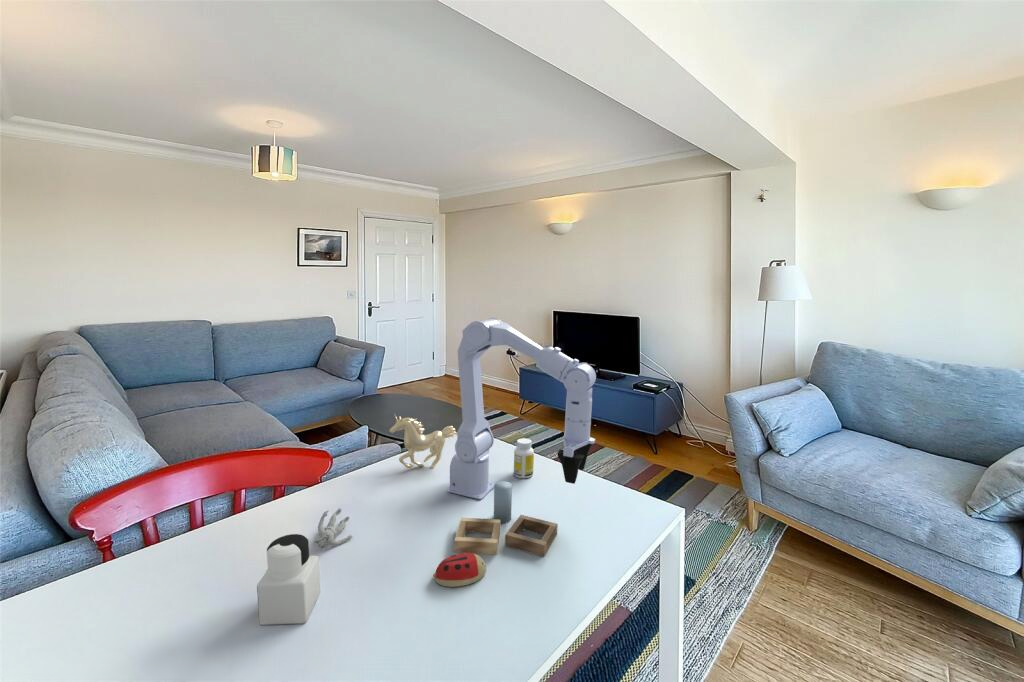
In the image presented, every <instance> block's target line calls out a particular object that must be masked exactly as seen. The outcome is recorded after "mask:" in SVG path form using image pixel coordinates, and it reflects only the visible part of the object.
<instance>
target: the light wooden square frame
mask: <svg viewBox="0 0 1024 682" xmlns="http://www.w3.org/2000/svg"><path fill="white" fill-rule="evenodd" d="M467 533H482V534H483V533H484V534H485V533H487V534H491V538H485V537H484V538H483V537H469V536H468V537H467V536H466V534H467ZM500 534H501V523H500V520H499V519H494V518H481V517H480V518H478V517H477V518H476V517H460V521H459V524H458V528H457V532H456V535H455V538H454V549H453V550H454V551H453V552H454V553H473V554H482V555H483V554H484V555H485V554H486V555H498V548H499V542H500Z"/></svg>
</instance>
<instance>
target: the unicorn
mask: <svg viewBox="0 0 1024 682" xmlns="http://www.w3.org/2000/svg"><path fill="white" fill-rule="evenodd" d="M393 415H394V417H395V420H396V422H395V424H394V425H392V427H390V429H389V432H390V433H391V434H394V433H395V432H397V431H402V430H403V432H404V435H403V436H404V439H403V443H404V448H406V449H407V450H408V451H407V452H406V453H405V454H402V455H401V456H399V458H398V461H399V463H401V464H402V465H403V466H404V467H405V468H406V469H412V468H414V467H415V466H414V465H416V466H417V467H424V466H425V465H424V463H425V462H427V461H428V460H430V459H431V458H433V457H435V459H434V461H432V463H431V465H430V469H434V468H436V467H435V466H436V465H437V464H438V463H439V462H440V460H441V458H442V452H443V449H444V447H445V444H446V439H449V438H452V437H453V438H454V437H455V436H454V435H456V436H457V432H458V431H456V428H455V427H454V426H453V425H448V426H445V427H443V429H441V431H440V430H434V431H433V432H431V433H429V434H423V433H424V432H425V430H426V429H425V428H423V427H424V425H423V424H422V421H417V419H418V418H417V417H416V418H411V417H409V416H408V417H401V416H399V418H397V415H396V413H393ZM426 450H429V452H430V454H428V455H427V456H426V457H425V458H424V460H423V463H422V462H418V461H415V453H420V452H424V451H426ZM407 458H409V459H410V462H411V463H412V464H411V463H406V461H404V460H405V459H407Z"/></svg>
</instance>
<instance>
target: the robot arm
mask: <svg viewBox="0 0 1024 682" xmlns="http://www.w3.org/2000/svg"><path fill="white" fill-rule="evenodd" d="M497 346H498V347H499V346H508V347H509V348H511V349H513V350H515V351H516V352H519V353H521V354H523V355H524V356H526V357H529V358H530V359H533V360H534V361H535V363H536V366H537V368H538V369H539V370H541V371H542V372H543V373H546V374H547V375H549V376H551V377H552V378H554V379H556V380H557V381H559V382H560V383H563V386H564V388H565V390H566V397H565V400H566V401H565V416H564V418H565V419H564V432H563V433H564V435H563V438H562V439H563V449H559V450H558V451H557V458H558V460H559V461H560V463H561V467H562V471H563V478H564V480H565V483H569V484H573V485H575V484H576V481H577V477H578V473H579V470H580V471H584V469H585V467H586V463H587V459H588V455H589V452H590V449H591V447H592V446H593V444H595V442H596V438H594V437H591V425H592V412H593V411H592V407H593V387H592V386H594V384H595V383H596V379H597V374H596V370H595V369H594V368H593V367H592V366H591V365H590V364H589V363H588V362H580V360H579V359H577V358H574V359H573V358H571V357H570V356H568V355H567V354H565V353H564V352H561V351H562V348H560V347H558V346H555V347H553V346H547V347H545V348H544V347H542V346H541V345H539V344H538V343H536V342H534V340H532V339H530V338H528V337H527V336H526V335H524V334H522V333H521V332H520V331H518V330H517V329H515V328H513V327H512V326H511V325H510V324H509V323H507V322H504V321H501V320H500V319H499V318H496V317H491V318H488V319H484V320H478V321H477V320H476V321H475V320H474V321H472V322H470V323H468V325H467V326H466V327H465V328H463V330H462V338H461V341H460V343H459V346H458V349H457V363H458V364H457V365H458V375H459V377H458V378H459V391H460V402H461V414H462V415H461V418H462V422H461V424H460V426H459V427H458V430H457V431H456V432H457V435H456V437H457V438H456V442H455V444H454V451H455V454H454V455H453V457H452V458H451V460H450V465H449V488H448V489H447V491H448V493H451V494H456V495H459V496H463V497H468V498H473V499H476V500H482V499H483V498H485V496H486V495H488V493H489V492H490V491H491V490H493V488H494V485H495V483H494V484H493V483H489V469H490V468H489V465H490V463H489V462H490V449H491V448H492V447H493V446H494V441H495V438H494V435H493V432H492V430H491V427H490V422H489V421H488V420H487V419H486V418H485V407H484V395H483V380H482V379H483V378H482V365H481V357H482V356H483V355H484V354H485V353H486V352H487V351H488V350H489V349H490V348H492V347H497Z"/></svg>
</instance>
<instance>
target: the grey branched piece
mask: <svg viewBox="0 0 1024 682" xmlns="http://www.w3.org/2000/svg"><path fill="white" fill-rule="evenodd" d="M329 512H330V511H329V510H326V511H324V512H323V514H322V516H321V517H320V519H319V522H318V525H317V532H318V533H317V534H318V537H319V539H317V540H314V541H313V542H314V543H315V544H316V545H318V547H320V548H321V551H323V550H324V549H325V547H326V545H328V546H334V547H335V546H336V547H338V546H341V545H342V544H344V543H347V541H350V540H351V539H352V538H353V537H354V536H353V534H349V535H348V536H347V537H345V538H342V539H340V540H339V539H338V540H336V537H337V536H338V535H339V534H340V533H342V531H343V530H344V529H345V528H346V524H345V523H346V522H348V521H349V519H350V517H349V516H346V517H345V518H343V519H342V520H340V523H339V525H338V526H337V527H335V523H336V522H337V516H338V515H339V514H340V513H341V512H342V508H338V509H337V510H336V511H335V512H334V513H333V514H332V516H331V517H330V518H329V522H328V523H327V525H326V527H324V526H323V525H324V523H325V517H327V516H328V513H329ZM337 545H338V546H337Z"/></svg>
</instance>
